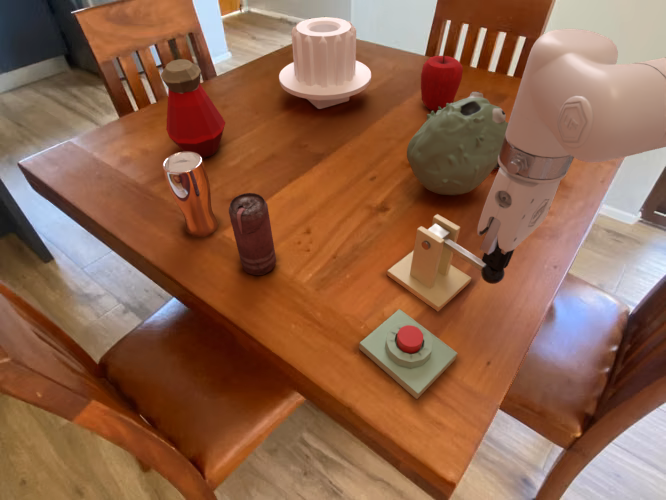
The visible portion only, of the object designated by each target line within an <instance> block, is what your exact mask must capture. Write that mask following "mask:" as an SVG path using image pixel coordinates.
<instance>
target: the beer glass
mask: <svg viewBox="0 0 666 500" xmlns="http://www.w3.org/2000/svg"><path fill="white" fill-rule="evenodd" d="M162 168H163V172H164V177H165V180H166V183H167V186H168V190H169V192H170V194H171V197H172V198H173V200H174V201H175V203H176V205H177V206H178V208H179V209H180V211H181V213H182V215H183V217H184V222H185V229H186V230H185V231H186V232H187V233H188V235H190V236H192V237H195V238H203V237H207V236H210V235H211V234H213V233H214V232H216V230H217V229H218V226H219V222H218V220H217V217H216V216H215V214H214V211H213V208H212V196H211V184H210V180H209V175H208V173H207V169H206V167H205V164H204V161H203V159H202V158H201V156H200V155H199V154H197V153H194V152H184V151H180V152H175V153H173V154H171V155H169V156H168V157H166V158H165V159H164V161H163V163H162Z"/></svg>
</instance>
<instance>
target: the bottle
mask: <svg viewBox="0 0 666 500" xmlns="http://www.w3.org/2000/svg"><path fill="white" fill-rule="evenodd" d="M201 75H202V70H201V68H200V66H199V65H196V64H195V63H194V62H192V61H190V60H188V59H175V60H171V61H169V62H168V63H167V64H165V67H164V69H163V70H162V72H161V73H160V77H161V80H162V82H163V83H164V84H165V86H166V87H167V88H168V89H167V109H166V129H165V130H166V132H167V134H168V138H169V139H170V140H171V141H172V142H173V143H175V145H176V146H177V147H178V148H179V149H180V150H181V151H182V152H194V153H197V154H199V155H200V156H201V158H202V160H203V159H205V158H209V157H212V156H214V155H215V154H216V153H217V152H218V150H219V148H220V145H221V140H222V137H223V133H224V130H225V127H226V121H225V119H224V117H223V115H222V114H221V112H220V111H219V110H218V108H217V107H216V105H215V104H214V102H213V101H212V99H211V97H210V96H209V95H208V93H207V91H206V90H205V89H204V87H203V86H202V84H201Z"/></svg>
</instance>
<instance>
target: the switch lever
mask: <svg viewBox="0 0 666 500" xmlns="http://www.w3.org/2000/svg"><path fill="white" fill-rule="evenodd" d="M427 230H429V231H431V232H432V233H434V234H436V235H437V236H439V237H440V238H442V239H444V245H443V246H444V247H445V248H447V249H448V250H450V251H451V252H453V253H454V254H455V255H456V256H457V257H459V258H460V259H462V260H463V261H465V263H468V264H469V265H471V266H472V267H474V268H475V269H477V270H479V271H480V277H481V278H482V280H483V281H484V282H485V283H487V284H489V285H496V284H499V283H501V282H502V281H503V280H504V278H505V274H506V273H505V269H504V270H503V271H502V272H498V271H497V270H495V269H493V268H492V267H490V266H489V265H487V264H485V263H484V262H483V261H482V258H480V257H478V256H477V255H475V254H473V253H472V252H470V251H469V250H468V249H466V248H464V247H463V246H461V245H460V244H458V243H457V242H456V243H455V242H453V241H452V240H450V239H449V234H450V232H449V231H447V230H445V229H444V228H442V227H441V226H439V225H438V224H436V223H435V224H434V225H433V226H432V225H431V226H429V228H427ZM454 254H453V255H454Z"/></svg>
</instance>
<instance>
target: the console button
mask: <svg viewBox="0 0 666 500" xmlns="http://www.w3.org/2000/svg"><path fill="white" fill-rule="evenodd" d="M422 342H423V334H422V332H421V330H420V329H418V328H417V327H415V326H411V325H407V326H404V327H402V328H400V330H399V331H398V335H397V345H398V347H399V348H400V349H401V350H402V351H403V352H405V353H415V352H417V351H419V350H420V349H421V346H422Z"/></svg>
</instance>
